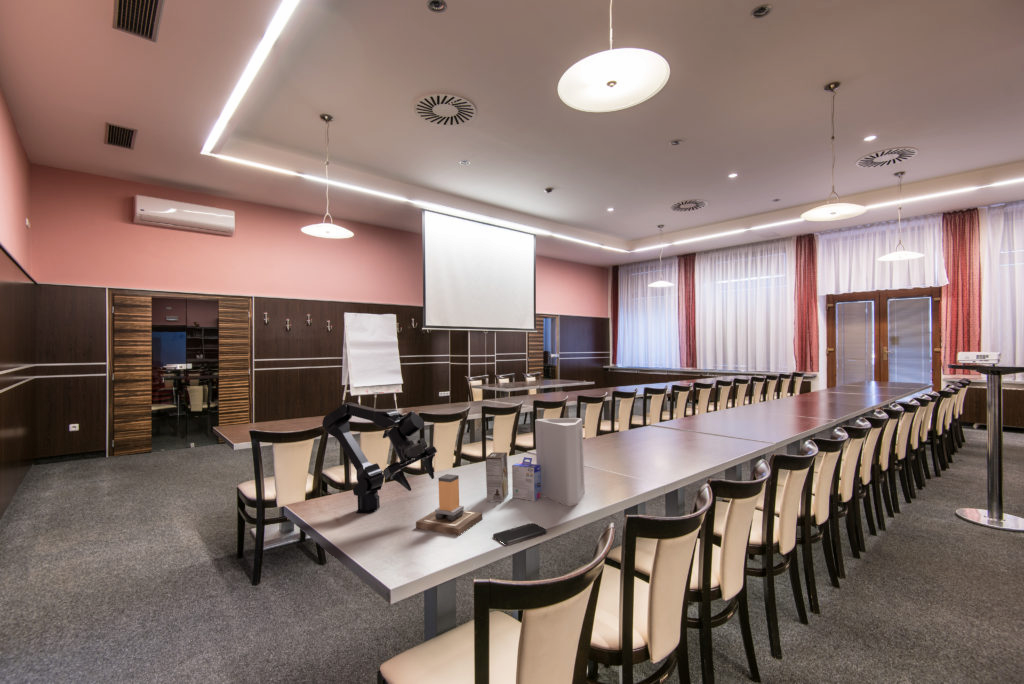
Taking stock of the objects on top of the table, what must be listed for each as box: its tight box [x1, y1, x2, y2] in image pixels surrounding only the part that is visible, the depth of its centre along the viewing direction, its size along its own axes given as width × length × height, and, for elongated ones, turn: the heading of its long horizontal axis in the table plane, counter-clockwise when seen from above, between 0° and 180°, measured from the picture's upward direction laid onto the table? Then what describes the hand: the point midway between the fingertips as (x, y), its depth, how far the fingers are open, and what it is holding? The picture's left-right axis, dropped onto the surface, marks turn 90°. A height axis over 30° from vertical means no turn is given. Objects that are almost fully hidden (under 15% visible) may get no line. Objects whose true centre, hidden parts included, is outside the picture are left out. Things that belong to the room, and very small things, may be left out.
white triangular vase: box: [534, 417, 586, 507], centre depth 169 cm, size 19×15×28 cm
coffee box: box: [485, 451, 509, 503], centre depth 169 cm, size 9×6×16 cm
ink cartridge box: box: [511, 456, 542, 502], centre depth 168 cm, size 10×6×14 cm, turn 58°
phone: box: [492, 522, 548, 546], centre depth 134 cm, size 8×1×15 cm
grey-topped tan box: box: [434, 473, 465, 522], centre depth 145 cm, size 7×6×13 cm
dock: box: [415, 509, 483, 536], centre depth 144 cm, size 16×14×2 cm
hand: (422, 484), depth 150 cm, fingers open, 9 cm apart
